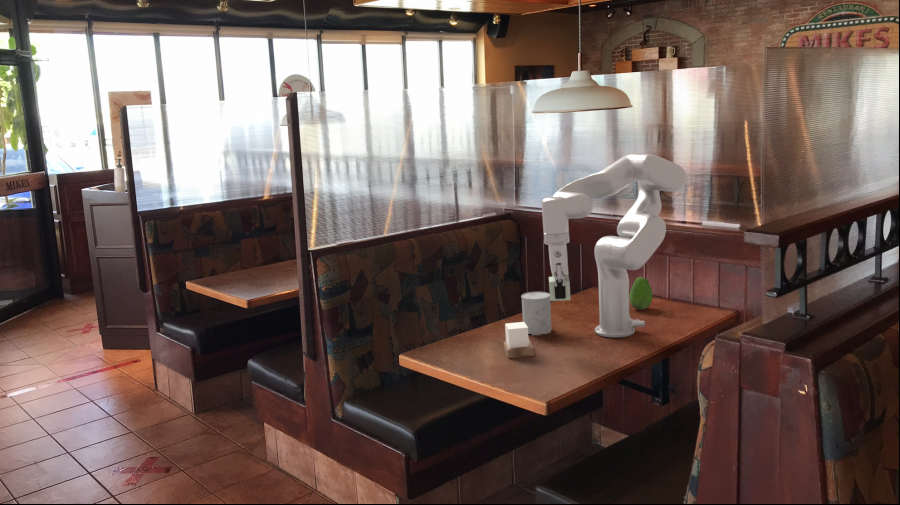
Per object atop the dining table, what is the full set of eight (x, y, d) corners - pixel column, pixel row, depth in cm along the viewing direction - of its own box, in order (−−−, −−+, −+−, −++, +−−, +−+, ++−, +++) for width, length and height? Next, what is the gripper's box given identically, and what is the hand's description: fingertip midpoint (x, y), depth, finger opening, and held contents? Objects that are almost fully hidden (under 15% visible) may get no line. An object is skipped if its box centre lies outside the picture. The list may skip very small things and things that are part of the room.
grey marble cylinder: (555, 327, 245) (553, 292, 243) (546, 336, 237) (545, 299, 234) (528, 325, 249) (526, 291, 247) (519, 334, 241) (517, 298, 238)
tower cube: (525, 340, 226) (524, 321, 225) (528, 346, 221) (528, 327, 219) (506, 342, 226) (505, 323, 225) (509, 348, 220) (508, 329, 219)
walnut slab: (529, 348, 228) (528, 339, 227) (534, 357, 220) (533, 347, 219) (504, 350, 227) (503, 341, 227) (507, 359, 219) (507, 349, 219)
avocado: (648, 313, 254) (648, 280, 251) (626, 311, 258) (626, 278, 255) (655, 307, 260) (655, 274, 258) (634, 305, 264) (633, 273, 262)
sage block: (569, 294, 224) (568, 275, 223) (570, 299, 219) (569, 280, 217) (549, 295, 225) (548, 276, 224) (550, 301, 219) (549, 281, 218)
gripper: (570, 242, 209) (574, 302, 213) (567, 231, 226) (571, 287, 230) (544, 244, 210) (548, 304, 214) (543, 233, 227) (547, 288, 231)
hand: (560, 294), depth 222 cm, fingers closed on sage block, 6 cm apart
